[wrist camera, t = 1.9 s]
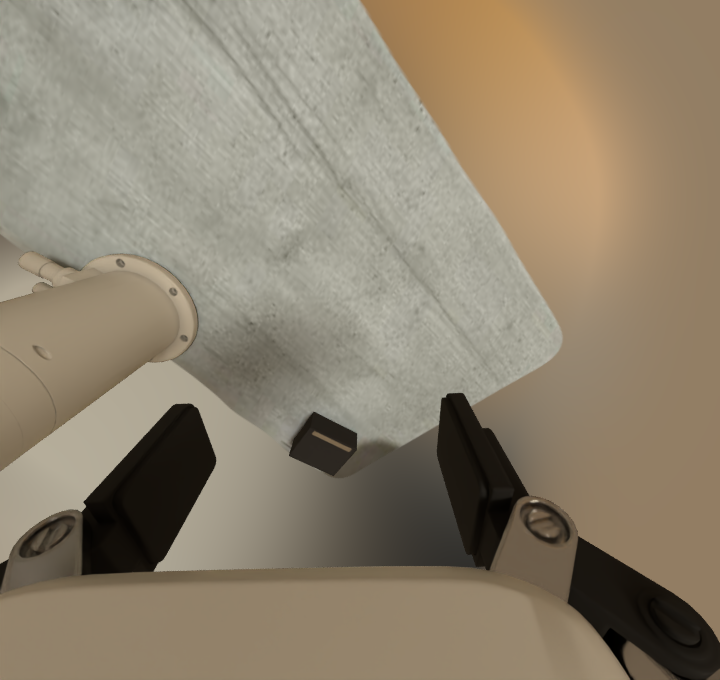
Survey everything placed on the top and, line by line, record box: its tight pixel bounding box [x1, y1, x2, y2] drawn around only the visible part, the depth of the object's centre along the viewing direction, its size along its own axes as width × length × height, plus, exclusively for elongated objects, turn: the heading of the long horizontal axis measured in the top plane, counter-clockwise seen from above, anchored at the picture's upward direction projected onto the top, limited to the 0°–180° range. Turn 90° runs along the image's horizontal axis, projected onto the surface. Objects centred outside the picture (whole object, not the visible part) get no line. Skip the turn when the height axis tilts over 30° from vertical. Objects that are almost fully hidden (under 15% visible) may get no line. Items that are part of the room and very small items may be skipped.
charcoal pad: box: [289, 412, 357, 476], centre depth 40 cm, size 7×6×3 cm
